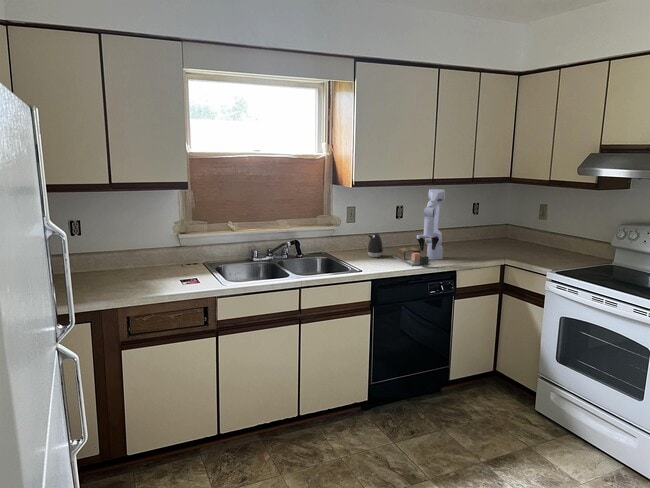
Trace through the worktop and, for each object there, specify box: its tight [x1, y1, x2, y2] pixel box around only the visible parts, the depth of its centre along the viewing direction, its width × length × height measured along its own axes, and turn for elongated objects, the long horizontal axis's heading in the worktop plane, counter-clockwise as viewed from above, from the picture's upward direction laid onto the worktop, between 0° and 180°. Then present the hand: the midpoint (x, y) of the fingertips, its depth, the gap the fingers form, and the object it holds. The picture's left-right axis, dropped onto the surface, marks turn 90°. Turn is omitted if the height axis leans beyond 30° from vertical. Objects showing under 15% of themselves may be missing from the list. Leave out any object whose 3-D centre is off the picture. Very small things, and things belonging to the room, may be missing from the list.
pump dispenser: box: [366, 233, 384, 259], centre depth 316 cm, size 10×10×15 cm
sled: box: [408, 255, 429, 266], centre depth 298 cm, size 7×15×5 cm, turn 19°
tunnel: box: [397, 246, 422, 260], centre depth 309 cm, size 12×8×6 cm
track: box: [392, 253, 431, 267], centre depth 308 cm, size 12×25×1 cm, turn 19°
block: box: [411, 252, 422, 261], centre depth 301 cm, size 4×4×4 cm
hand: (427, 250), depth 294 cm, fingers open, 7 cm apart
